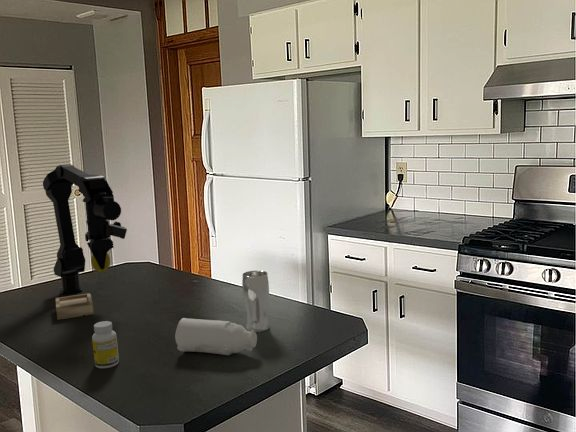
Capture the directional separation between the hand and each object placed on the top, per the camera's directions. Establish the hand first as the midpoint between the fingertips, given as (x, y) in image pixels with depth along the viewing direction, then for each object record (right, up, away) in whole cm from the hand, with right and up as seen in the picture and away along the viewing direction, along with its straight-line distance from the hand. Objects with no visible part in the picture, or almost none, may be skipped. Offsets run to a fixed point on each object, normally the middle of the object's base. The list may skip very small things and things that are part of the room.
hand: (101, 266), depth 176 cm
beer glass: (+50, -14, -25) cm, 57 cm away
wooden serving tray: (-6, -13, -5) cm, 15 cm away
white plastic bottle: (+41, -17, -39) cm, 59 cm away
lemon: (0, -2, 0) cm, 2 cm away
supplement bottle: (+16, -19, -44) cm, 50 cm away
